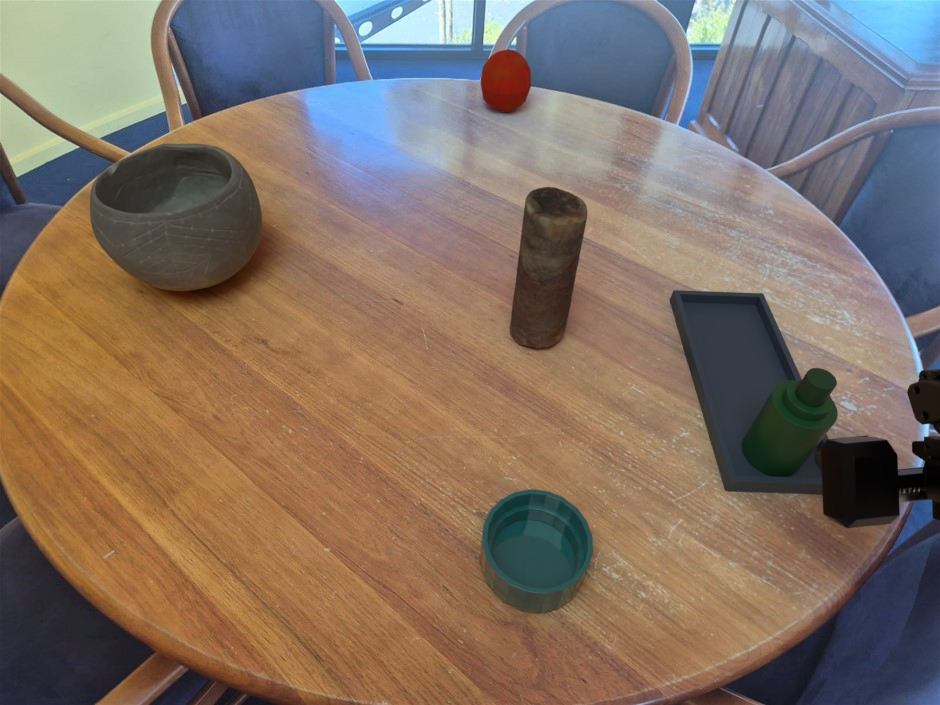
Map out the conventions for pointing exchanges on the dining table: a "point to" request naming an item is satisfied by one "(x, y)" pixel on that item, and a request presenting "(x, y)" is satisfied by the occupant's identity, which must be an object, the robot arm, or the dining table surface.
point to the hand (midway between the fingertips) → (865, 451)
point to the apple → (505, 80)
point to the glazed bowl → (535, 550)
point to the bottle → (791, 424)
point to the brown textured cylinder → (547, 265)
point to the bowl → (177, 215)
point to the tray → (738, 380)
